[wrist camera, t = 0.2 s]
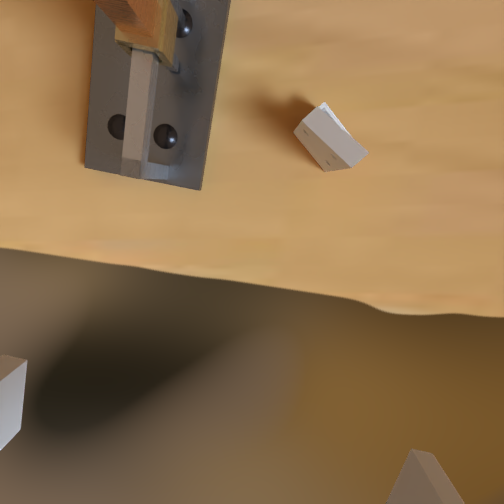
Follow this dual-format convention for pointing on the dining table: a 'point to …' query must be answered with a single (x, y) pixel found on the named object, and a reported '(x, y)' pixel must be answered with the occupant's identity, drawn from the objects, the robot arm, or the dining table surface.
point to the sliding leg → (145, 27)
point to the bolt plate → (160, 96)
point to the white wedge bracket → (329, 140)
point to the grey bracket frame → (143, 112)
